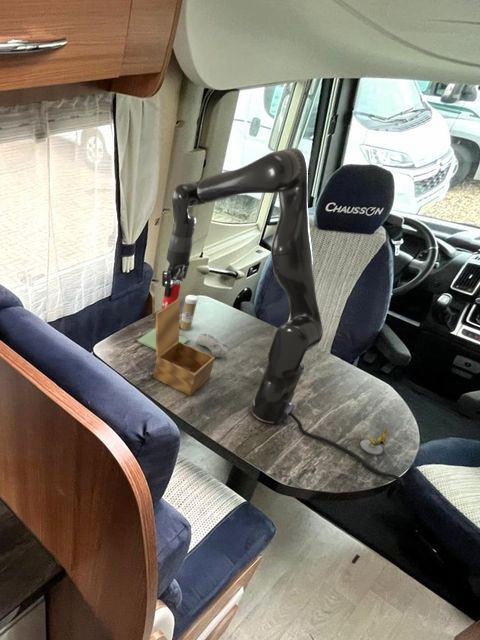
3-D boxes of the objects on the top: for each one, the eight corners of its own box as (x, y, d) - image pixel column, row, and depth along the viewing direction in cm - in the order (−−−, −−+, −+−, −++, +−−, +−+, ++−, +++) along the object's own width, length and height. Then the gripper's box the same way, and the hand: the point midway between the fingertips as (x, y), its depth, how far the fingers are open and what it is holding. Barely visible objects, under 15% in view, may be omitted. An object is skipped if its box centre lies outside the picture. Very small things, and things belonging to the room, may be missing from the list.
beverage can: (162, 307, 164) (167, 277, 156) (176, 309, 162) (182, 279, 155) (160, 314, 160) (165, 283, 152) (174, 316, 158) (180, 285, 151)
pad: (188, 340, 170) (188, 339, 169) (168, 356, 161) (169, 354, 161) (157, 327, 177) (157, 326, 176) (137, 341, 169) (137, 339, 168)
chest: (209, 377, 152) (215, 357, 146) (189, 395, 144) (195, 374, 139) (173, 361, 159) (177, 341, 154) (153, 377, 151) (156, 357, 146)
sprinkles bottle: (179, 329, 176) (185, 299, 168) (179, 323, 179) (186, 293, 171) (191, 331, 175) (198, 300, 167) (191, 325, 179) (198, 295, 170)
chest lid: (179, 299, 145) (177, 298, 146) (157, 313, 138) (155, 313, 138) (179, 340, 153) (177, 339, 154) (158, 356, 146) (155, 355, 146)
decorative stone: (189, 345, 167) (192, 333, 164) (200, 339, 170) (203, 328, 167) (219, 361, 159) (222, 349, 156) (230, 354, 163) (233, 343, 159)
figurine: (378, 457, 124) (391, 437, 119) (356, 446, 127) (369, 426, 122) (385, 448, 127) (399, 428, 122) (364, 437, 130) (377, 417, 125)
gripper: (178, 256, 140) (170, 304, 150) (201, 244, 148) (191, 290, 159) (158, 250, 144) (151, 297, 154) (181, 238, 152) (173, 283, 163)
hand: (171, 293), depth 156 cm, fingers closed on beverage can, 5 cm apart
